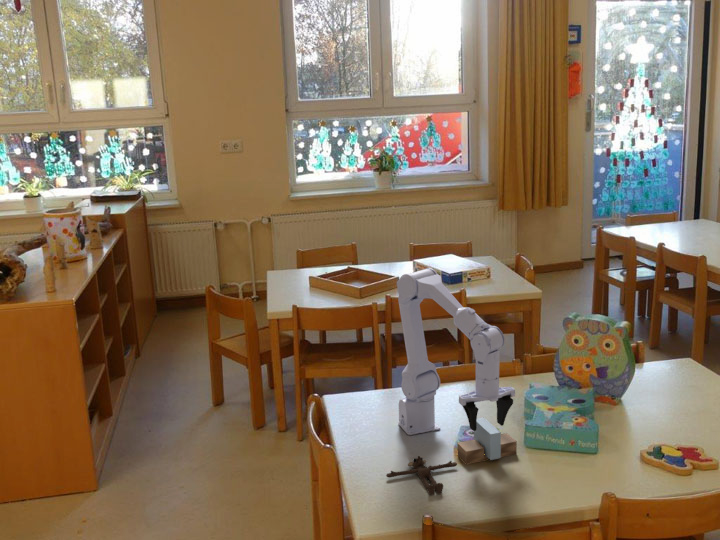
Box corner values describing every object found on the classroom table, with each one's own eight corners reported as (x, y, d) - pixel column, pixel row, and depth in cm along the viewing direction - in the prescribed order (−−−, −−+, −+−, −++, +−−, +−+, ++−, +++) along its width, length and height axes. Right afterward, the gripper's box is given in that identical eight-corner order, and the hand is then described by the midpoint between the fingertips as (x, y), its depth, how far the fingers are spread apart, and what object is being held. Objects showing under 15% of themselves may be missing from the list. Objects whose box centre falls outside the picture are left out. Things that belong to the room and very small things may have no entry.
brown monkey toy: (398, 491, 171) (380, 456, 184) (398, 507, 172) (380, 471, 186) (472, 478, 175) (450, 444, 188) (472, 493, 177) (449, 459, 190)
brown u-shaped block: (466, 464, 187) (466, 451, 186) (457, 455, 191) (457, 442, 190) (516, 453, 191) (516, 441, 190) (506, 445, 195) (506, 432, 195)
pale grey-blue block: (490, 460, 186) (490, 434, 185) (473, 444, 195) (473, 419, 193) (500, 458, 187) (500, 432, 185) (483, 442, 195) (483, 417, 194)
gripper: (467, 386, 180) (467, 438, 183) (521, 377, 184) (520, 428, 188) (455, 375, 186) (455, 426, 190) (507, 367, 191) (506, 416, 194)
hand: (486, 426), depth 189 cm, fingers open, 7 cm apart
